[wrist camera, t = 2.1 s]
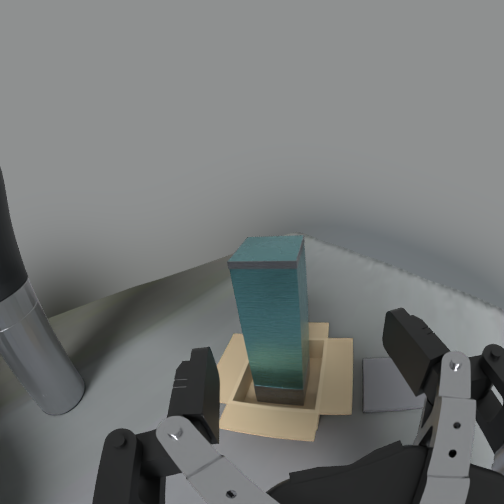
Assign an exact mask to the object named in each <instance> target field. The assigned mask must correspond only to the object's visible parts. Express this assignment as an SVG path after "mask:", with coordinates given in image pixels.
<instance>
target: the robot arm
mask: <svg viewBox="0 0 504 504" xmlns="http://www.w3.org/2000/svg"><path fill="white" fill-rule="evenodd" d="M382 340H383V345H384V348H385V350H386V351H387V353H388V354H389V356H390V357H391V359H392V360H393V362H394V364H395V365H396V367H397V368H398V370H399V371H400V373H401V374H402V376H403V377H404V379H405V381H406V382H407V384H408V385H409V387H410V388H411V390H412V392H413V393H414V395H415V396H416V397H417V396H419V395H421V394H423V393H424V394H425V395H426V398H425V401H424V406H423V411H422V416H421V420H420V425H419V429H418V433H417V436H416V438H415V440H414V443H413V445H405V446H402V444H401V442H400V440H399V441H397V442H394V443H392V444H389V445H387V446H384V447H382V448H379V449H377V450H374V451H373V452H371V453H370V454H368V455H366V456H365V457H363V458H361V459H360V460H358V461H356V462H355V463H353V464H351V465H346V466H331V467H316V468H312V469H307V470H302V471H297V472H292V473H289V475H290V479H288V480H285V481H283V482H281V483H279V484H277V485H275V486H274V487H272V488H271V489H270V490H268V491H267V492H264V491H263V490H262V489H261V488H260V487H258V486H257V485H256V484H255V483H254V482H252V481H251V480H250V479H249V478H248V477H247V476H246V475H244V474H243V473H242V472H241V471H240V470H239V469H238V468H237V467H236V466H235V465H234V464H232V463H231V462H230V461H229V460H228V459H227V458H226V457H225V456H223V455H221V454H220V453H219V452H218V451H217V450H216V449H215V448H214V447H213V446H212V445H211V444H219V407H220V377H219V372H218V369H217V366H216V363H215V360H214V357H213V354H212V351H211V349H210V347H204V348H195V349H192V352H191V358H190V361H182V363H181V364H180V366H179V367H178V368H177V370H176V374H175V381H174V384H173V389H172V394H171V399H170V405H169V410H168V415H167V418H166V419H164V420H163V421H162V422H160V424H159V425H158V427H157V429H155V430H152V431H149V432H145V433H140V434H136V435H135V434H134V433H133V432H132V431H130V430H128V429H123V428H122V429H116V430H114V431H112V432H111V433H110V434H108V436H107V437H106V439H105V442H104V447H103V451H102V455H101V460H100V465H99V469H98V474H97V480H96V485H95V491H94V497H93V503H92V504H165V483H166V476H170V475H174V474H178V473H183V474H184V475H185V476H186V479H187V480H188V482H189V483H190V484H191V486H192V487H193V488H194V489H195V490H196V491H197V493H198V494H199V495H200V496H201V497H202V498H203V499H204V500H205V501H206V503H207V504H504V349H503V348H502V347H501V346H499V345H496V344H490V345H488V346H486V347H485V348H484V350H483V353H482V355H479V356H474V357H467V356H466V355H465V354H464V353H462V352H459V351H450V350H449V349H448V348H447V347H446V346H445V344H444V343H443V342H442V341H441V340H440V339H439V338H438V337H437V336H436V334H435V333H433V331H432V330H431V329H430V328H428V326H427V325H426V324H425V322H424V321H423V320H422V319H420V318H418V317H416V316H414V315H411V316H410V315H409V314H408V313H407V312H406V310H405V309H404V308H398V309H395V310H391V311H388V312H387V313H386V317H385V324H384V331H383V337H382ZM0 354H1V355H2V357H3V358H4V360H5V362H6V363H7V365H8V366H9V368H10V369H11V370H12V372H13V373H14V375H15V376H16V378H17V379H18V380H19V382H20V383H21V384H22V386H23V387H24V388H25V390H26V391H27V392H28V394H29V395H30V396H31V397H32V398H33V400H34V401H35V402H36V403H37V404H38V406H39V407H40V408H41V409H42V410H43V411H44V412H45V413H47V414H50V415H59V414H63V413H65V412H67V411H69V410H71V409H72V408H73V407H74V406H75V405H76V404H77V403H78V402H79V401H80V399H81V397H82V395H83V393H84V389H85V384H84V380H83V379H82V377H81V375H80V374H79V372H78V371H77V369H76V368H75V366H74V365H73V363H72V362H71V360H70V358H69V357H68V355H67V353H66V352H65V350H64V348H63V347H62V345H61V343H60V341H59V340H58V338H57V336H56V334H55V332H54V331H53V329H52V327H51V325H50V323H49V321H48V319H47V317H46V315H45V313H44V311H43V309H42V307H41V305H40V303H39V301H38V298H37V296H36V294H35V292H34V290H33V287H32V285H31V283H30V280H29V277H28V275H27V272H26V270H25V267H24V264H23V261H22V259H21V255H20V252H19V248H18V245H17V242H16V239H15V235H14V231H13V227H12V223H11V219H10V214H9V209H8V203H7V196H6V190H5V184H4V180H3V175H2V171H1V168H0ZM493 385H494V386H495V387H496V389H497V390H498V392H499V393H500V395H501V396H502V398H503V406H502V405H501V403H500V402H499V400H498V399H497V397H496V396H495V394H494V393H493V391H492V390H491V388H492V386H493ZM475 419H476V421H477V423H478V425H479V426H480V428H481V430H482V432H483V433H484V435H485V437H486V439H487V441H488V443H489V445H490V447H491V448H492V450H493V452H494V454H495V456H494V463H493V464H492V467H491V468H492V470H490V469H486V468H483V467H480V466H477V465H473V464H470V461H471V455H472V448H473V440H474V431H475Z"/></svg>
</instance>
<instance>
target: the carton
mask: <svg viewBox="0 0 504 504" xmlns="http://www.w3.org/2000/svg"><path fill="white" fill-rule="evenodd" d="M308 323H309V355H310V375H309V380H308V386H307V391H306V397H305V402H304V406H297V405H285V404H275V403H266V402H258V401H257V398H256V394H255V389H254V382H253V378H252V373H251V369H250V364H249V360H248V355H247V351H246V346H245V342H244V337H243V334H235V333H234V334H233V336H232V338H231V340H230V342H229V344H228V346H227V348H226V350H225V352H224V353H223V355H222V357H221V359H220V361H219V363H218V365H217V369H218V372H219V377H220V403H224V404H227V405H226V407H225V409H224V411H223V414H222V416H221V418H220V420H219V428H221V429H225V430H230V431H235V432H241V433H246V434H252V435H258V436H265V437H272V438H280V439H290V440H301V441H314V439H315V433H316V430H318V424H319V417H320V414H321V415H351V412H352V389H353V338H328V331H329V323H312V322H308Z"/></svg>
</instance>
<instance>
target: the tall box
mask: <svg viewBox="0 0 504 504" xmlns="http://www.w3.org/2000/svg"><path fill="white" fill-rule="evenodd" d="M304 242H305V240H304V235H295V236H267V237H247V238H246V239H245V241H244V242H243V243H242V244H241V246H240V247H239V248H238V249H237V251H236V252H235V253H234V254H233V255H232V257H231V258H230V259H229V260H228V261H227V263H228V268H229V269H230V274H231V279H232V284H233V289H234V294H235V299H236V304H237V308H238V313H239V318H240V323H241V328H242V332H243V337H244V342H245V346H246V351H247V355H248V360H249V364H250V369H251V373H252V378H253V382H254V389H255V394H256V398H257V401H258V402H266V403H275V404H285V405H297V406H304V402H305V397H306V391H307V386H308V380H309V375H310V355H309V323H308V298H307V279H306V263H305V248H304Z"/></svg>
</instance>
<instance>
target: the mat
mask: <svg viewBox="0 0 504 504" xmlns="http://www.w3.org/2000/svg"><path fill="white" fill-rule="evenodd" d="M425 398H426V395H425V394H424V393H423V394H421V395H419V396H417V397H416V396H415V395H414V393H413V392H412V390H411V388H410V387H409V385H408V384H407V382H406V381H405V379H404V377H403V376H402V374H401V373H400V371H399V370H398V368H397V367H396V365H395V364H394V362H393V360H392V359H391V357H386V358H363V412H384V411H397V410H408V409H417V408H423V406H424V401H425Z"/></svg>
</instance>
